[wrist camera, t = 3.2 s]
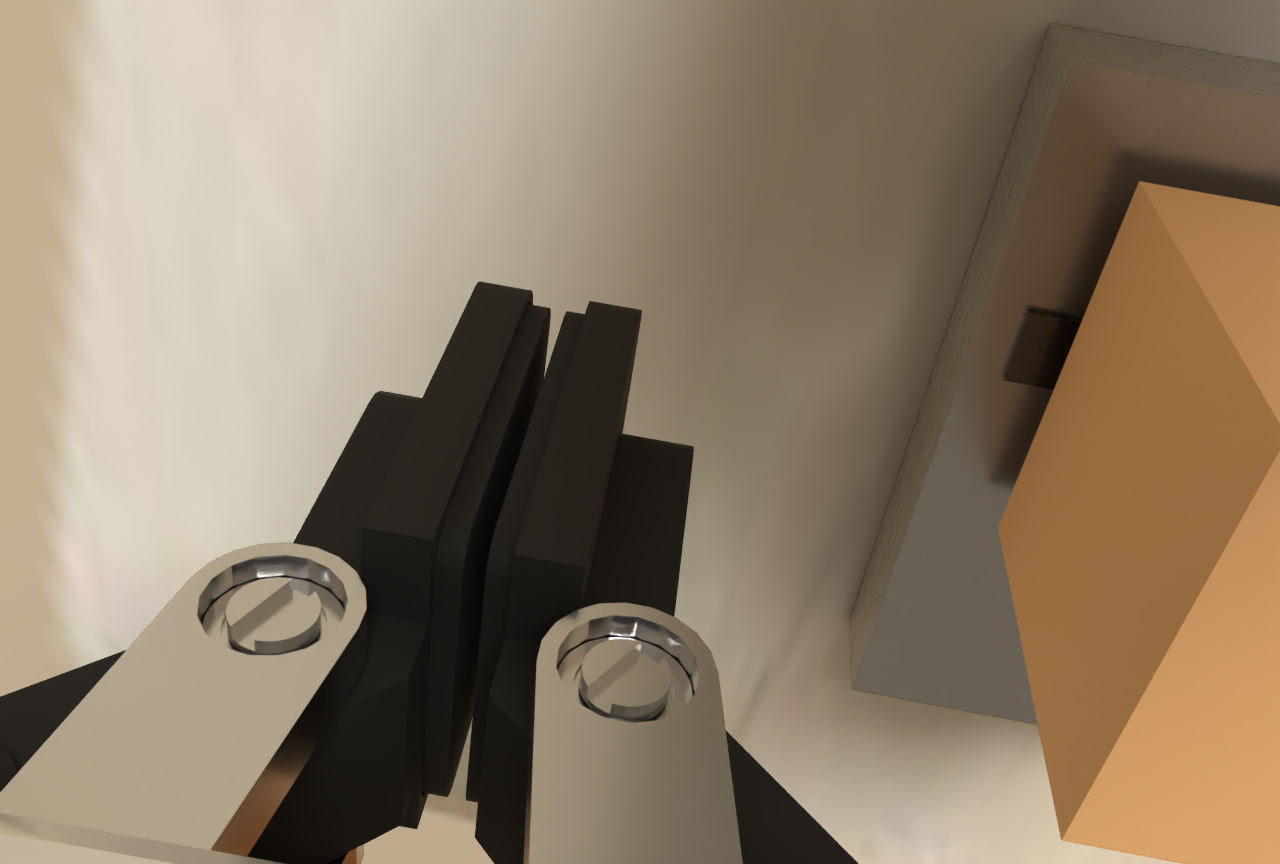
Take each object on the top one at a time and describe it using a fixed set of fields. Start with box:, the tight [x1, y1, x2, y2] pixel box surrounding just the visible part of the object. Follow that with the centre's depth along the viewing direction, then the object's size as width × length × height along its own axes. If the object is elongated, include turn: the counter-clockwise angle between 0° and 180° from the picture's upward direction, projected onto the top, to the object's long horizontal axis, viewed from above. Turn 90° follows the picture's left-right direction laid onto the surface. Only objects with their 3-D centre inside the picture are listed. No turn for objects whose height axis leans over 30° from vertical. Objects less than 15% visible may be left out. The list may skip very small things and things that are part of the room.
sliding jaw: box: [998, 181, 1280, 864], centre depth 13 cm, size 4×8×5 cm, turn 172°
